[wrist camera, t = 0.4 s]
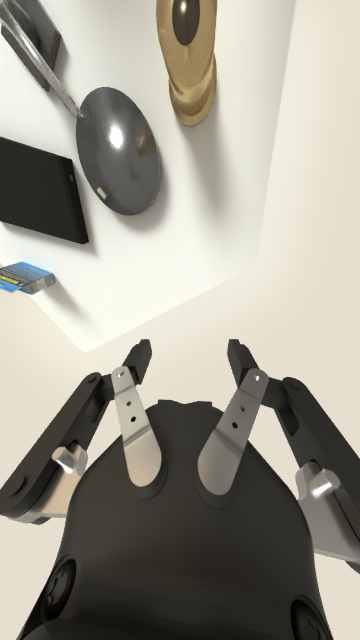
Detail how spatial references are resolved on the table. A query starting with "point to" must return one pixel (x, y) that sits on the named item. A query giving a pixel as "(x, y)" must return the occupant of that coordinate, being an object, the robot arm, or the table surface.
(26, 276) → the label tape box
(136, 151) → the turntable platter
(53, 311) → the table surface
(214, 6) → the brass cover
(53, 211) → the external hard drive
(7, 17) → the dial gauge stand
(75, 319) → the table surface
